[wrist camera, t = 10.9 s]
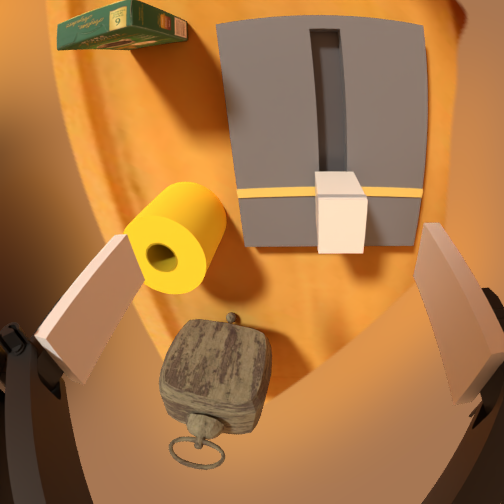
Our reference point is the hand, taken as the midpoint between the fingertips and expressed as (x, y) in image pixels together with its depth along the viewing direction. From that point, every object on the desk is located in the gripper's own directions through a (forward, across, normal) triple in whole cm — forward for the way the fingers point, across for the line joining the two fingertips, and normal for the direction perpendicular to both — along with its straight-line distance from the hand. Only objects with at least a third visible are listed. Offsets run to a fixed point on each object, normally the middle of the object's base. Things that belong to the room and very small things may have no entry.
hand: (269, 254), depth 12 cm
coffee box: (+23, -13, +15) cm, 30 cm away
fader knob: (+22, +4, -6) cm, 24 cm away
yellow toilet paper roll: (+23, -14, -9) cm, 28 cm away
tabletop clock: (+22, -11, -28) cm, 38 cm away
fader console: (+23, +4, 0) cm, 23 cm away
